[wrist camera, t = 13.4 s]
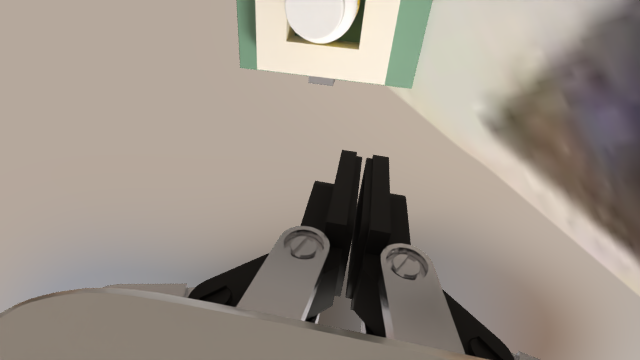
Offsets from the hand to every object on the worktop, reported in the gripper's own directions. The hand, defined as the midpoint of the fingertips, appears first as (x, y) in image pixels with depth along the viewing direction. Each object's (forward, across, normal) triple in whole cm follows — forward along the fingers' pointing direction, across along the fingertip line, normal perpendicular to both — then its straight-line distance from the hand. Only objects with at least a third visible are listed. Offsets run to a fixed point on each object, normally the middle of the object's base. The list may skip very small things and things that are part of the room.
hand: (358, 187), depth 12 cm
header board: (+24, +5, -4) cm, 25 cm away
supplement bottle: (+24, +5, -4) cm, 24 cm away
